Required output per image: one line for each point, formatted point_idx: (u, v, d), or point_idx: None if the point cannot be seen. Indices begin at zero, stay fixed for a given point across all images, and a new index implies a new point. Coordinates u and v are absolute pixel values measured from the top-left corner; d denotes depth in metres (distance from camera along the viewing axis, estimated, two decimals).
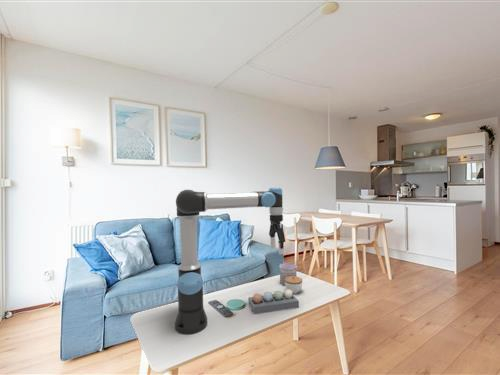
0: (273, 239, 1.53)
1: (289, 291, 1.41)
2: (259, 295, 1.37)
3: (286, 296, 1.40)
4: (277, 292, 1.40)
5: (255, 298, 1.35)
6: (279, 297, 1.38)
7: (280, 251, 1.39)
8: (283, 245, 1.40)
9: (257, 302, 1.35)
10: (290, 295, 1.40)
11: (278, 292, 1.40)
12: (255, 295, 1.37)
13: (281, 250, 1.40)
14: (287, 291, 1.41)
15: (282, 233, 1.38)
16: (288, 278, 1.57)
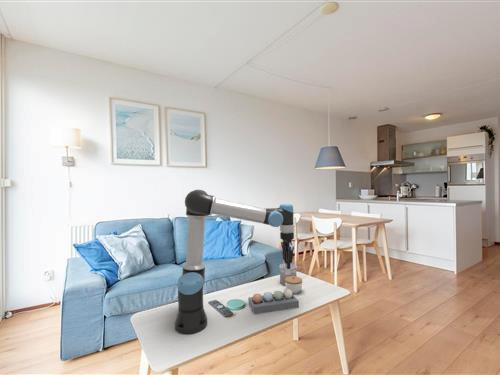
0: None
1: (289, 291, 1.41)
2: (259, 295, 1.37)
3: (286, 296, 1.40)
4: (277, 292, 1.40)
5: (255, 298, 1.35)
6: (279, 297, 1.38)
7: (287, 271, 1.41)
8: (290, 265, 1.41)
9: (257, 302, 1.35)
10: (290, 295, 1.40)
11: (278, 292, 1.40)
12: (255, 295, 1.37)
13: (288, 270, 1.41)
14: (287, 291, 1.41)
15: (291, 255, 1.37)
16: (288, 278, 1.57)
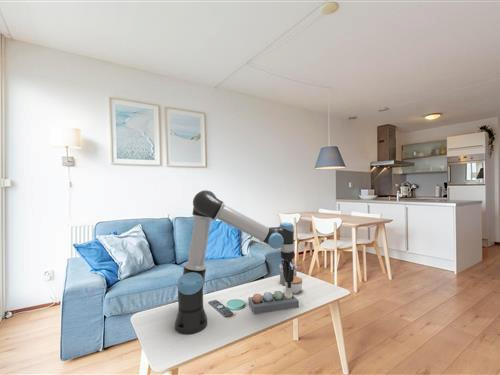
0: None
1: (289, 293, 1.41)
2: (259, 295, 1.37)
3: (286, 298, 1.40)
4: (277, 292, 1.40)
5: (255, 298, 1.35)
6: (279, 297, 1.38)
7: (288, 290, 1.41)
8: (290, 284, 1.41)
9: (257, 302, 1.35)
10: (290, 297, 1.40)
11: (278, 292, 1.40)
12: (255, 295, 1.37)
13: (289, 289, 1.41)
14: None
15: (292, 274, 1.37)
16: None
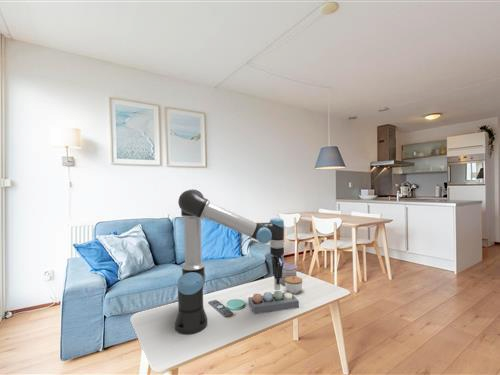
0: None
1: (289, 295, 1.41)
2: (259, 295, 1.37)
3: None
4: (277, 292, 1.40)
5: (255, 298, 1.35)
6: (279, 297, 1.38)
7: (276, 287, 1.39)
8: (279, 281, 1.40)
9: (257, 302, 1.35)
10: None
11: (278, 292, 1.40)
12: (255, 295, 1.37)
13: (277, 286, 1.39)
14: (287, 295, 1.41)
15: (280, 271, 1.36)
16: (288, 278, 1.57)
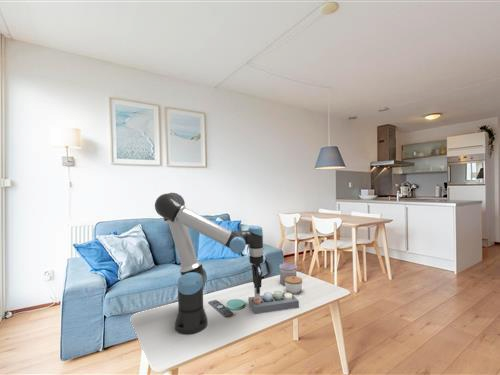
0: None
1: (289, 295, 1.41)
2: (259, 299, 1.37)
3: None
4: (277, 292, 1.40)
5: (255, 302, 1.35)
6: (279, 297, 1.38)
7: (256, 296, 1.36)
8: (259, 290, 1.37)
9: None
10: None
11: (278, 292, 1.40)
12: (255, 299, 1.37)
13: (257, 295, 1.36)
14: (287, 295, 1.41)
15: (260, 280, 1.33)
16: (288, 278, 1.57)
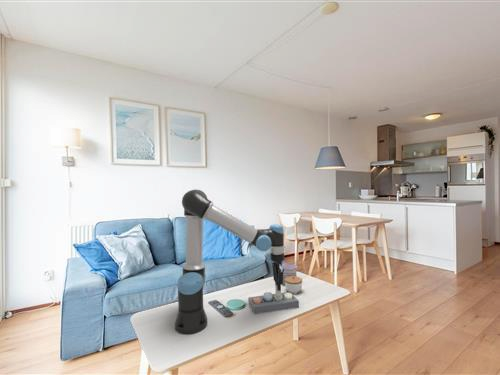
0: None
1: (289, 295, 1.41)
2: (259, 299, 1.37)
3: None
4: None
5: (255, 302, 1.35)
6: None
7: (277, 293, 1.39)
8: (280, 287, 1.40)
9: None
10: None
11: None
12: (255, 299, 1.37)
13: (278, 292, 1.39)
14: (287, 295, 1.41)
15: (281, 277, 1.36)
16: (288, 278, 1.57)
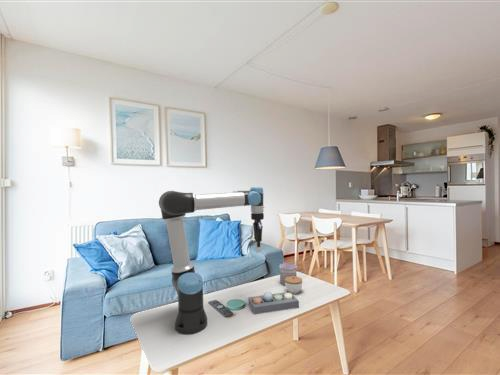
0: None
1: (289, 295, 1.41)
2: (259, 299, 1.37)
3: None
4: (277, 296, 1.40)
5: (255, 302, 1.35)
6: None
7: (257, 249, 1.51)
8: (260, 244, 1.52)
9: None
10: None
11: (278, 296, 1.40)
12: (255, 299, 1.37)
13: (258, 248, 1.51)
14: (287, 295, 1.41)
15: (260, 234, 1.48)
16: (288, 278, 1.57)
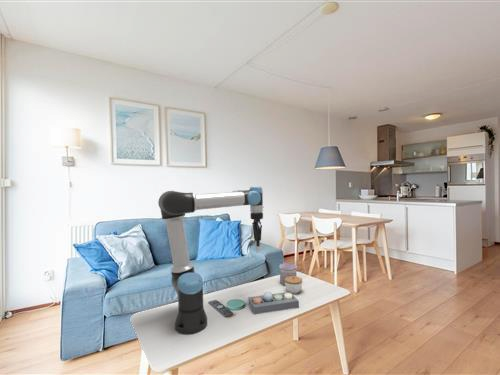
0: None
1: (289, 295, 1.41)
2: (259, 299, 1.37)
3: None
4: (277, 296, 1.40)
5: (255, 302, 1.35)
6: None
7: (256, 249, 1.52)
8: (259, 243, 1.52)
9: None
10: None
11: (278, 296, 1.40)
12: (255, 299, 1.37)
13: (257, 248, 1.52)
14: (287, 295, 1.41)
15: (259, 233, 1.48)
16: (288, 278, 1.57)
